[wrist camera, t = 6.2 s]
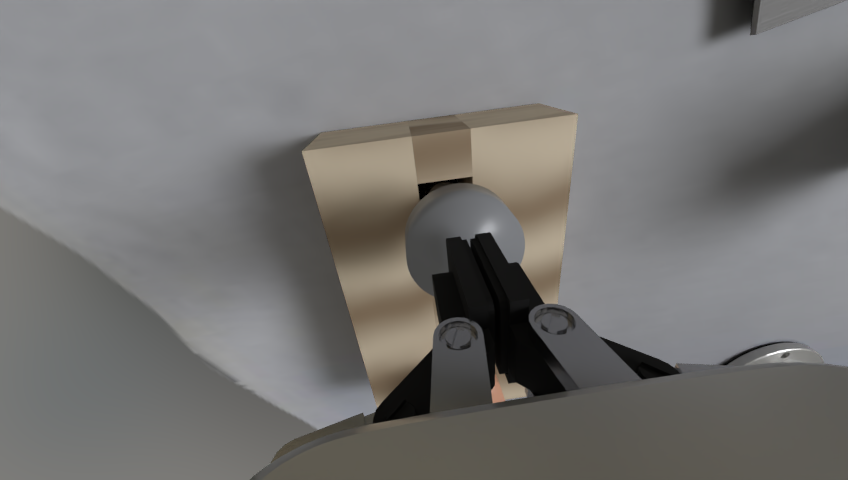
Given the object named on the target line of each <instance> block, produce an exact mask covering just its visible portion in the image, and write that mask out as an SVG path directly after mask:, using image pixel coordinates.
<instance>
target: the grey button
mask: <svg viewBox="0 0 848 480" xmlns="http://www.w3.org/2000/svg"><path fill="white" fill-rule="evenodd" d="M487 232H490V233H491V234H492V236H493V238H494V239H495V241H496V243H497V244H498V246H499V248H500V249H501V251H502V253H503V255H504V256H505V258H506V260H507V261H508V263H514V262H517V263H519V265H520V264H521V262H522V259H523V256H524V251H525V238H524V233H523V230H522V227H521V225H520V223H519V221H518V220H517V219H516V217H515V216H514V215H513V213H512V212H511V211H510V210H509V208H508V207H507V206H506V205H505V204H504V202H503V201H502V200H501V199H500V198H499V197H498V196H497V195H496V194H495V193H494V192H492V191H491V190H489V189H487V188H485V187H482V186H479V185H476V184H470V183H455V184H453V183H450V182H441V183H438V184H436V185H434V186H433V187H432V188H431V190H430V191H429V194H427V195H426V196H425V197H424V198H422V199H421V200H420V201H419V202H418V204H417V205H416V206H415V207H414V209H413V210H412V212H411V214H410V216H409V218H408V220H407V223H406V228H405V247H406V260H407V266H408V270H409V272H410V275H411V276H412V278H413V280H414V281H415V282H416V284H417V285H418V286H419V287H420V288H421V289H422V290H424V291H425V292H427V293H428V294H430V295H432V296H434V290H433V282H432V274H439V273H446V272H449V270H448V259H447V248H446V238H453V237H461V239H462V240H465V239H467V241H468V244H469V246H470V239H472V238H475V234H480V233H487Z"/></svg>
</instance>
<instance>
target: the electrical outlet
mask: <svg viewBox="0 0 848 480" xmlns="http://www.w3.org/2000/svg"><path fill="white" fill-rule="evenodd" d="M843 1H846V0H754V3H753V11H752V19H751V33H750V35H756V34H759V33H761V32H764V31H767V30H769V29H772V28H775V27H777V26H780V25H783V24H785V23H788V22H790V21H793V20H796V19H798V18H801V17H804V16H806V15H809V14H812V13H814V12H817V11H820V10H822V9H825V8H828V7H830V6H833V5H836V4H838V3H841V2H843Z"/></svg>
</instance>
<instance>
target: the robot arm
mask: <svg viewBox="0 0 848 480" xmlns="http://www.w3.org/2000/svg"><path fill="white" fill-rule="evenodd" d="M446 248H447V259H448V270H449V272H446V273H439V274H432V282H433V290H434V297H435V304H436V310H437V316H438V321H439V325H438V326H437V327H436V329H435V331H434V334H433V349H432V350H431V351H430V352H429V353H428V354H427V355H426V356H425V357H424V358H423V359H422V360H421V361H420V363H419V364H418V365H417V366H416V367H415V368H414V369H413V370H412V371H411V372H410V373H409V374H408V375H407V376H406V377H405V378H404V379H403V380H402V381H401V383H400V384H399V385H398V386H397V387H396V388H395V389H394V390H393V391H392V392H391V393H390V394H389V395H388V396H387V397H386V398H385V399H384V400H383V402H382V403H381V404H380V405H379V407H378V408H377V409H376V412H375V413H372V414H369V415H367V416H364V415H363V413H361V414H358V415H356V416H353V417H350V418H348V419H345V420H343V421H340V422H338V423H335V424H332V425H330V426H327V427H325V428H322V429H319V430H317V431H314V432H312V433H309V434H307V435H304V436H301V437H299V438H296V439H294V440H292V441H290V442H289V443H287V444H285V445H284V446H283V447H282V448H281V449H280V450H279V451H278V452H277V453H276V455H275V456H274V458H273V460H272V461H271V463H270V464H269V465H267V466H266V467H265V468H263V469H262V470H261V471H259V472H258V473H257V474H256V475H254V476H253V477H252V478H251V479H250V480H848V367H846V366H839V365H832V364H825V363H824V360H823V358H822V356H821V355H820V354H818V353H817V352H816V351H814V350H813V349H811V348H810V347H808V346H806V345H804V344H800V343H778V344H773V345H768V346H764V347H761V348H759V349H756V350H753V351H751V352H748V353H746V354H744V355H742V356H740V357H738V358H737V359H735V360H733V361H732V362H730V363H729V364H727V365H703V364H679V363H676V366H675V368H674V367H672V366H671V365H669V364H668V363H666V362H663V361H661V360H659V359H657V358H654V357H652V356H649V355H646V354H644V353H641V352H639V351H636V350H633V349H631V348H628V347H625V346H623V345H620V344H618V343H615V342H612V341H610V340H607V339H604V338H602V337H599V336H598V335H597V334H596V333H595V332H594V331H593V330H592V329H591V328H590V327H589V326H588V325H587V324H586V323H585V322H584V321H583V320H582V319H581V318H580V317H579V316H578V315H577V314H576V313H575V312H574V311H572V310H571V309H569V308H567V307H565V306H562V305H558V304H545V303H544V302H543V300H542V299H541V297H540V296H539V294H538V293H537V291H536V289H535V288H534V286H533V285H532V283H531V282H530V280H529V278H528V277H527V275H526V274H525V272H524V271H523V269H522V268H521V266H520V265H519V263H517V262H514V263H508V261H507V260H506V258H505V256H504V255H503V253H502V251H501V249H500V248H499V246H498V244H497V243H496V241H495V239H494V238H493V236H492V234H491V233H490V232H487V233H480V234H475V238H472V239H470V246H469V244H468V241H467V239H465V240H462V239H461V237H453V238H446ZM495 364H496V367H497V369H498V372H499V374H505V376H506V379H507V381H508V384H510V383H518V384H520V385H521V386H523V387H525V393H526V396H527V398H522V399H516V400H510V401H503V402H497V403H493V401H492V393H491V390H492V389H493V387H494V386H495Z"/></svg>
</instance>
